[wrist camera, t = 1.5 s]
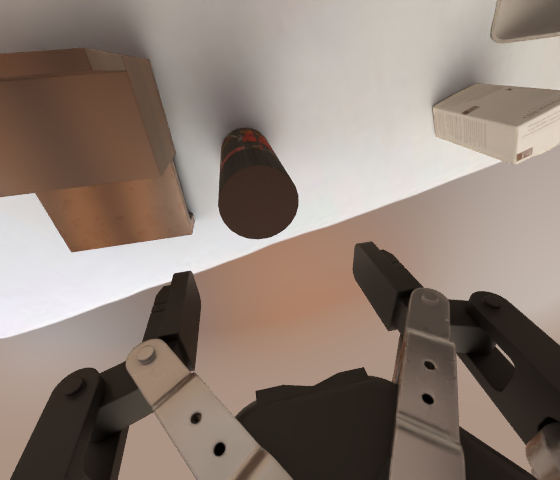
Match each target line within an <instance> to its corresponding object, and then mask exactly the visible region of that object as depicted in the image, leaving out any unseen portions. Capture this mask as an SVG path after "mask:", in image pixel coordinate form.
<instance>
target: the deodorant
mask: <svg viewBox="0 0 560 480" xmlns="http://www.w3.org/2000/svg"><path fill="white" fill-rule="evenodd" d="M218 206H219V212H220V215H221V217H222V219H223V221H224V223H225V224H226V225H227V226H228V228H229V229H230V230H231V231H233V232H235V233H236V234H238V235H240V236H243V237H246V238H250V239H263V238H269V237H271V236H274V235H277V234H278V233H280V232H281V231H283V230H284V229H285V228H286V227H287V226H288V225H289V224H290V223H291V222H292V220H293V219H294V217H295V215H296V212H297V208H298V193H297V190H296V187H295V185H294V183H293V182H292V180H291V178H290V177H289V175H288V174H287V172H286V170H285V169H284V167H283V166H282V164H281V162H280V161H279V159H278V158H277V156H276V154H275V153H274V151H273V150H272V148H271V146H270V145H269V143H268V142H267V140H266V139H265V137H264V136H263V135H262V134H261V133H260V132H258V131H256V130H254V129H251V128H239V129H236V130H233V131H232V132H231V133H229V134H228V135H227V137H226V138H225V139H224V141H223V144H222V147H221V161H220V180H219V200H218Z"/></svg>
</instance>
